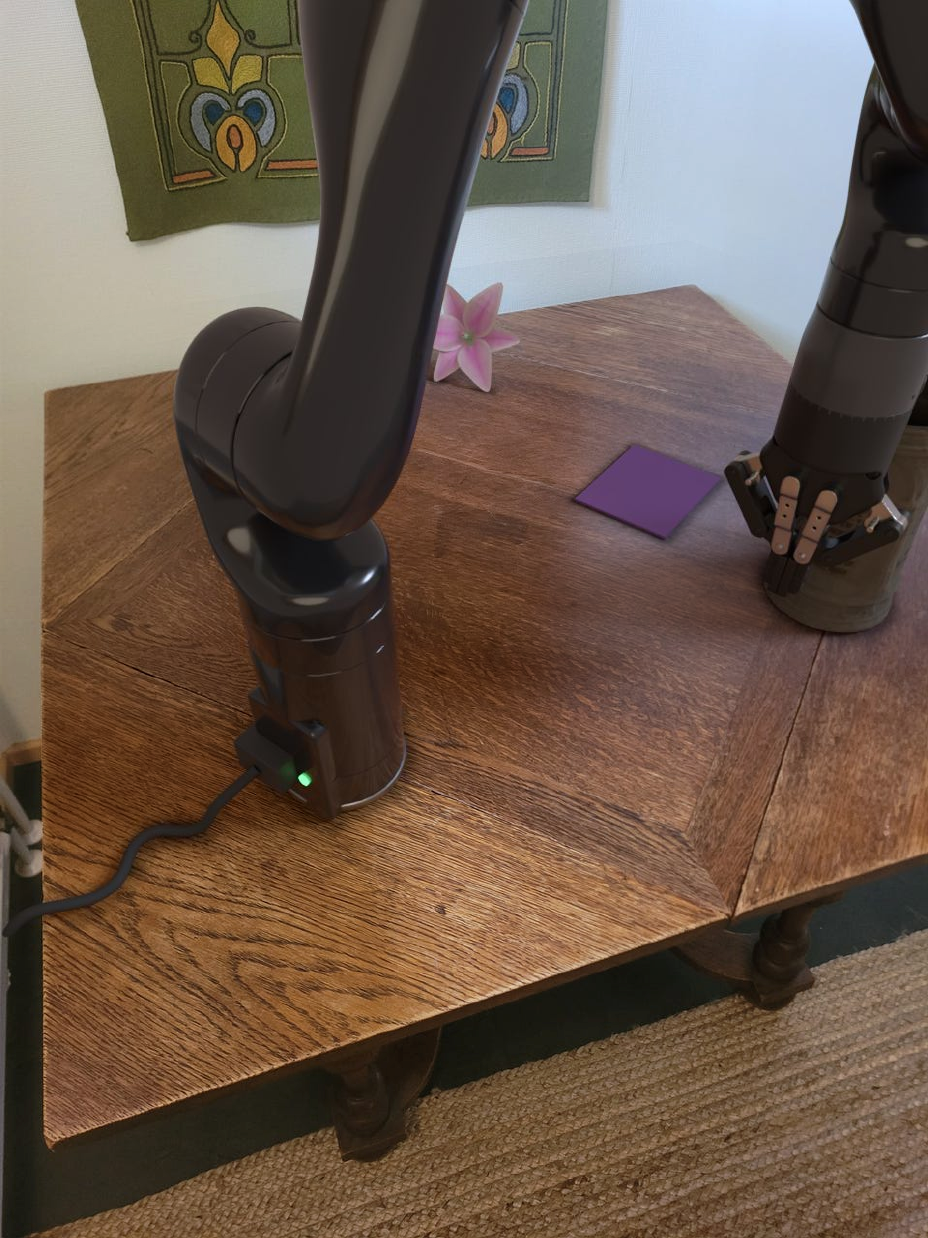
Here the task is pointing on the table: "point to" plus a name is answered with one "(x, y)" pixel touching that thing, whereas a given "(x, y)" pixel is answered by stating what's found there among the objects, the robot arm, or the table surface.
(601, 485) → the cloth
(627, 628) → the table surface
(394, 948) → the table surface
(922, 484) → the beer stein
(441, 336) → the lily
